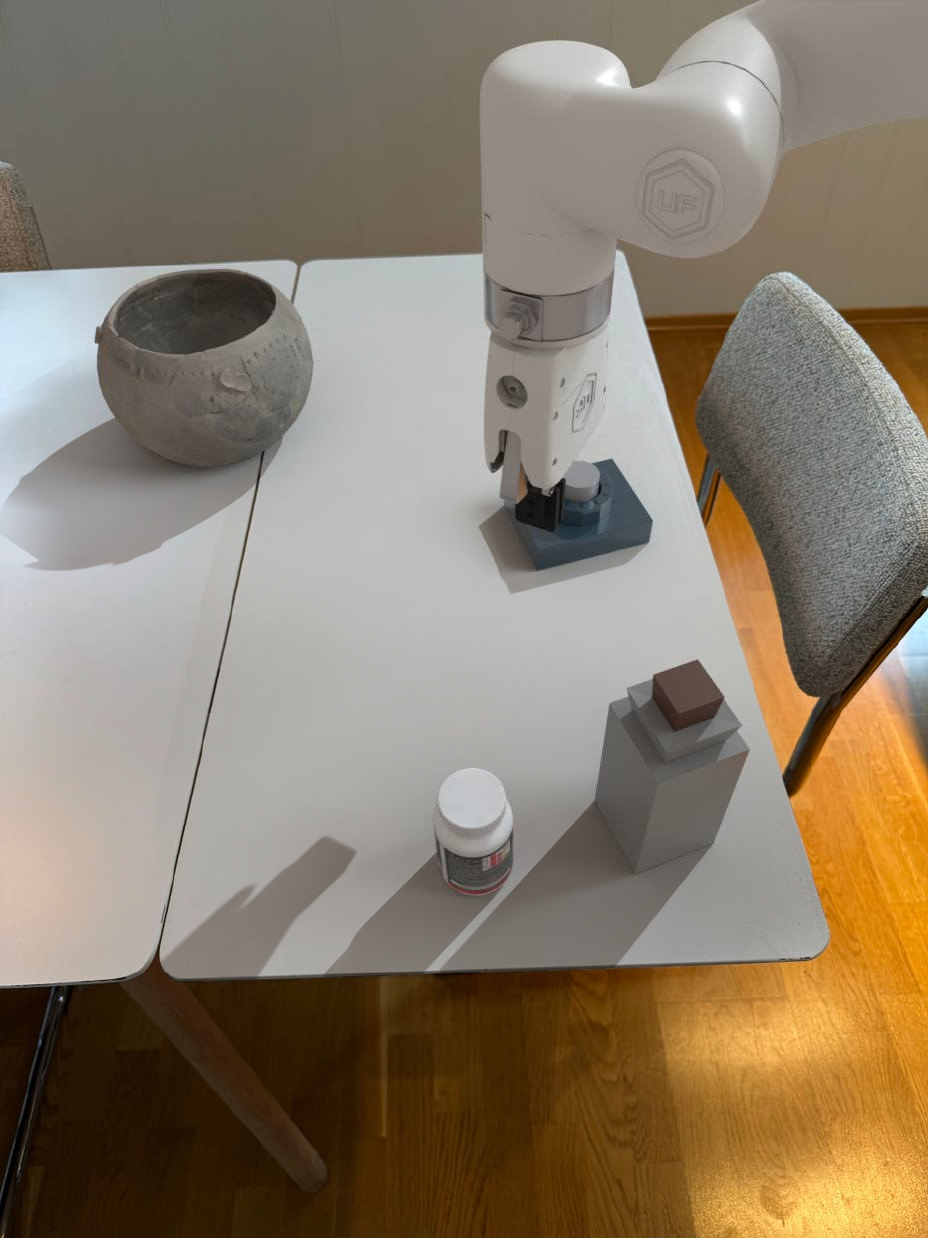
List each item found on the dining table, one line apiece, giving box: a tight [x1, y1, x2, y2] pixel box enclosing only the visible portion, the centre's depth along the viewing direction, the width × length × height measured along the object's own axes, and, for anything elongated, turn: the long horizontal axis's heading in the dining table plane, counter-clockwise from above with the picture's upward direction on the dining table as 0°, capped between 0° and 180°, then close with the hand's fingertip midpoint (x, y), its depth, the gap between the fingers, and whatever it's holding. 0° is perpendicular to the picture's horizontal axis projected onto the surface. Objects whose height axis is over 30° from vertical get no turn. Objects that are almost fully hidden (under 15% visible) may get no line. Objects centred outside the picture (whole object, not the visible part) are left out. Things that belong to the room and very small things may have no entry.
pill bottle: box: [432, 767, 514, 896], centre depth 65 cm, size 6×6×10 cm
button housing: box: [503, 458, 654, 571], centre depth 90 cm, size 12×10×5 cm
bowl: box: [94, 268, 314, 467], centre depth 99 cm, size 23×23×15 cm
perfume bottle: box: [594, 658, 751, 875], centre depth 63 cm, size 7×7×18 cm
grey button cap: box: [562, 460, 600, 503], centre depth 88 cm, size 4×4×2 cm
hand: (539, 519), depth 67 cm, fingers closed
